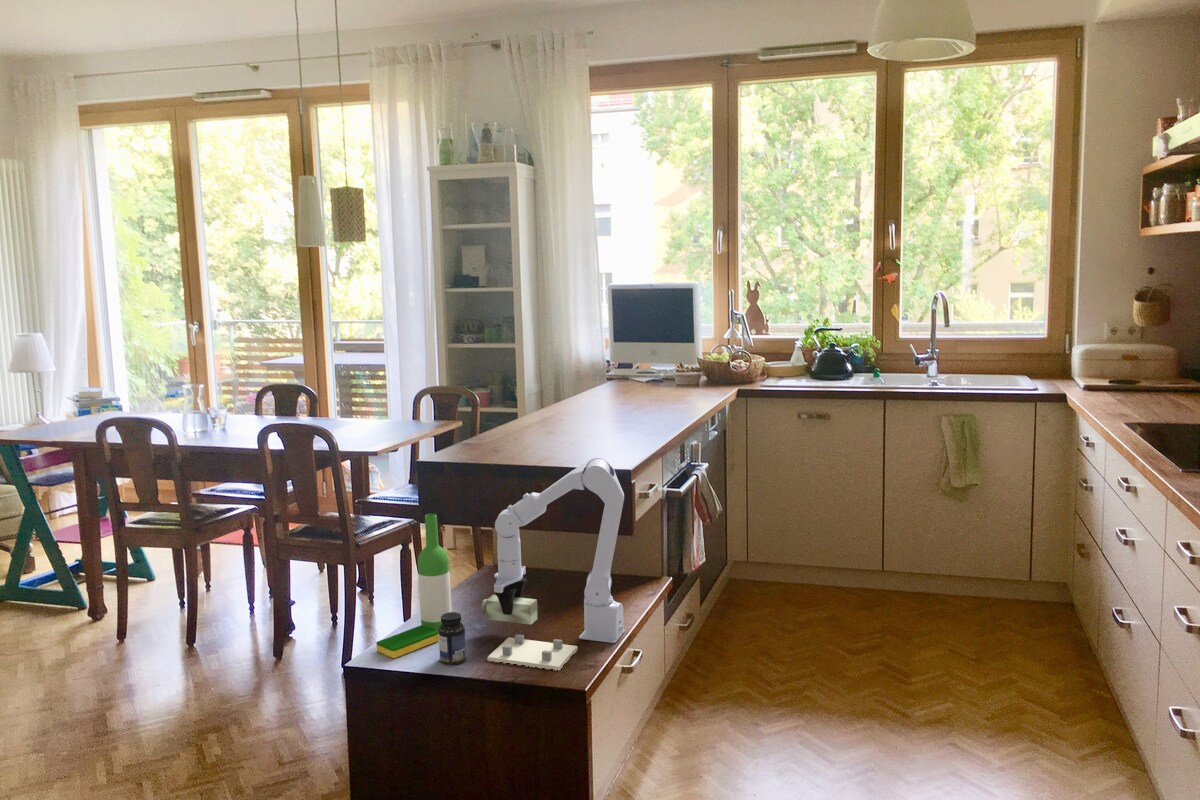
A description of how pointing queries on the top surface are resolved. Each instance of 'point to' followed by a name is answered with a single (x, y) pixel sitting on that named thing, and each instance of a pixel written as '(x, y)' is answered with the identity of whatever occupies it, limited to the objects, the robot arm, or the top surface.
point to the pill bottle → (452, 639)
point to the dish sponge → (407, 641)
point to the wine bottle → (433, 578)
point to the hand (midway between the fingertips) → (511, 610)
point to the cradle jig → (533, 653)
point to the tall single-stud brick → (521, 611)
